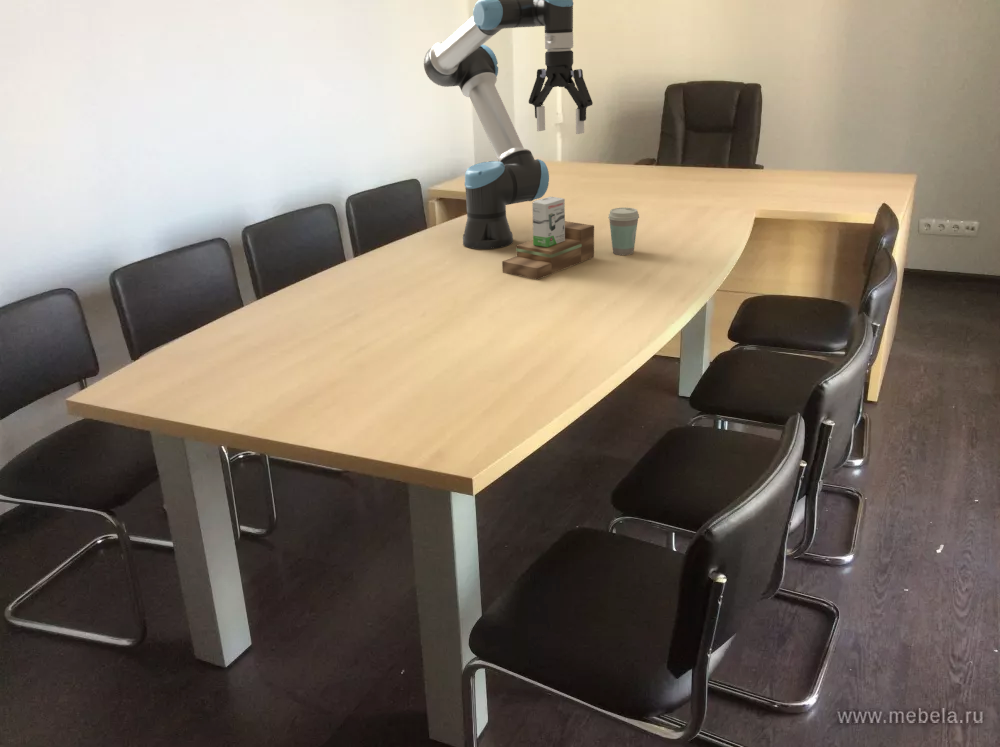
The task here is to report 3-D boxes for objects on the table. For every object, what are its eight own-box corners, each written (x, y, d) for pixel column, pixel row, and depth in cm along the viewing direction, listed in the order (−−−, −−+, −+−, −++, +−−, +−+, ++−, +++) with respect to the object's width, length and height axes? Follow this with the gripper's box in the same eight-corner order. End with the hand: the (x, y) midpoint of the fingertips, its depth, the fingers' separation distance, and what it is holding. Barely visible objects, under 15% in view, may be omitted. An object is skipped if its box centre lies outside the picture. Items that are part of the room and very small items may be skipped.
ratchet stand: (502, 272, 226) (500, 239, 222) (559, 251, 242) (559, 220, 239) (537, 279, 218) (536, 245, 214) (594, 257, 235) (594, 225, 231)
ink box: (547, 248, 223) (546, 203, 219) (532, 245, 226) (530, 201, 221) (566, 240, 229) (565, 197, 224) (551, 238, 232) (550, 195, 227)
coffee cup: (637, 256, 233) (638, 213, 229) (606, 256, 235) (607, 213, 230) (639, 248, 241) (640, 207, 236) (609, 248, 243) (609, 207, 238)
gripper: (514, 51, 230) (517, 131, 238) (588, 50, 214) (588, 136, 223) (532, 49, 235) (534, 127, 243) (605, 48, 219) (605, 132, 228)
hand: (560, 132), depth 233 cm, fingers open, 13 cm apart
